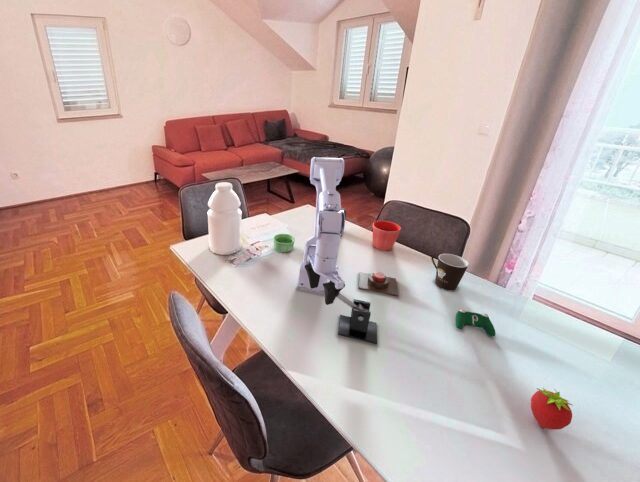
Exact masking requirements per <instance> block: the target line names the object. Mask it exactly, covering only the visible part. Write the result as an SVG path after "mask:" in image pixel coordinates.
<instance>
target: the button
mask: <svg viewBox="0 0 640 482" xmlns="http://www.w3.org/2000/svg"><path fill="white" fill-rule="evenodd" d="M373 273H374V275H373V279H374V280H375V281H377V282H384V280H385V276H386V275H385V274H384V273H383V272H380V271H375V272H373Z"/></svg>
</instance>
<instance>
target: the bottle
mask: <svg viewBox="0 0 640 482" xmlns="http://www.w3.org/2000/svg"><path fill="white" fill-rule="evenodd" d="M214 186H215V187H214V189H215V190H214V192H212V194H211V196H210V197H209V199H208V202H207V207H208V208H209V209H208V211H207V213H206V214H207V226H208V227H207V231H208V247H209V250H210V251H211V252H212V253H214V254H217V255H222V256H223V255H224V256H227V255H228V256H229V255H233V254H235V253H238V252H240V250H241V248H242V245H243V243H242V217H243V216H242V215H243V211H242V210H241V208H240V207H241V205H242V202H241V199H240V198H239V195H237V193H236V192H235V191H234V190H233V187H234V186H233V184H232V183H231V182H229V181H223V182H222V181H221V182H217V183H215V185H214ZM234 251H235V252H234ZM231 252H232V253H231Z"/></svg>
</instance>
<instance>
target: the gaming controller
mask: <svg viewBox="0 0 640 482" xmlns="http://www.w3.org/2000/svg"><path fill="white" fill-rule="evenodd" d="M465 325H466V326H473V327H477V328H482V330H483V331H484V332H485V333H486V334H487V335H488V336H489V337H496V329H495V327H494V325H493V323H492V321H491V319H490V317H489V314H488V313H477V312H473V311H467V310H466V309H458V310H457V312H456V314H455V326H456V329H458V330H460V331H461V330H463V329H464V326H465Z"/></svg>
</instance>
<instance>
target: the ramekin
mask: <svg viewBox="0 0 640 482" xmlns="http://www.w3.org/2000/svg"><path fill="white" fill-rule="evenodd" d="M272 241H273V247H274V249H275V250H276V251H278V252H282V253H288V252H291V251H292V250H293V249H294V245H295V242H296V238H295V237H294V236H293V235H291V234H289V233H278V234H275V235H274V236H273V237H272Z"/></svg>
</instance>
